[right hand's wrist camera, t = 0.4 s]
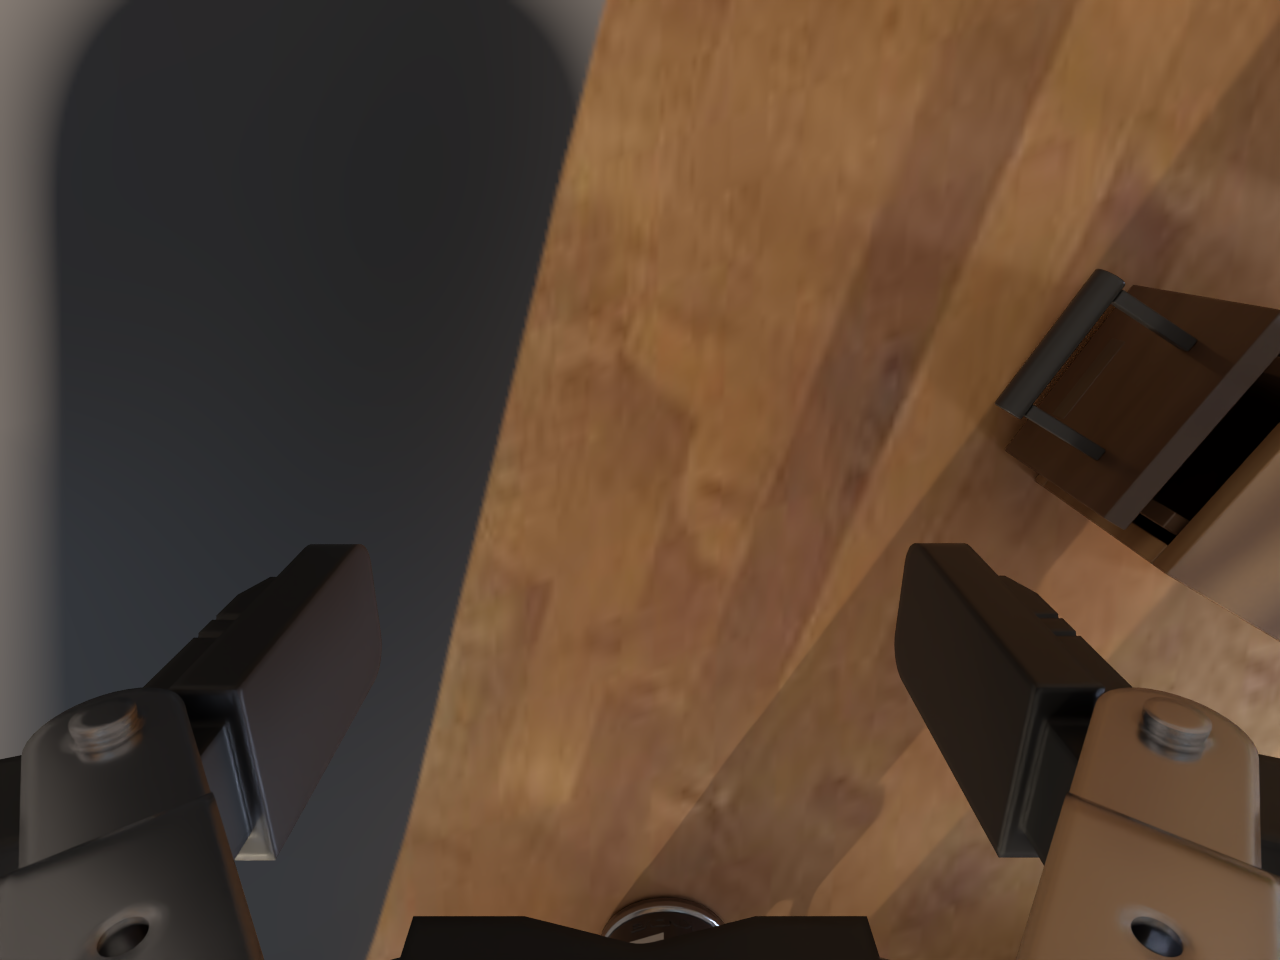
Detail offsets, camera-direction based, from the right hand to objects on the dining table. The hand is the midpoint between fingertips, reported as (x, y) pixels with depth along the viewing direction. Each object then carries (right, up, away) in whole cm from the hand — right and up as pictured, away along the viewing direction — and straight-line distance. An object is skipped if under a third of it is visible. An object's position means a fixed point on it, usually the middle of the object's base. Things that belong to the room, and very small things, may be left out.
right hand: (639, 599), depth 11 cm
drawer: (+25, +6, +28) cm, 38 cm away
